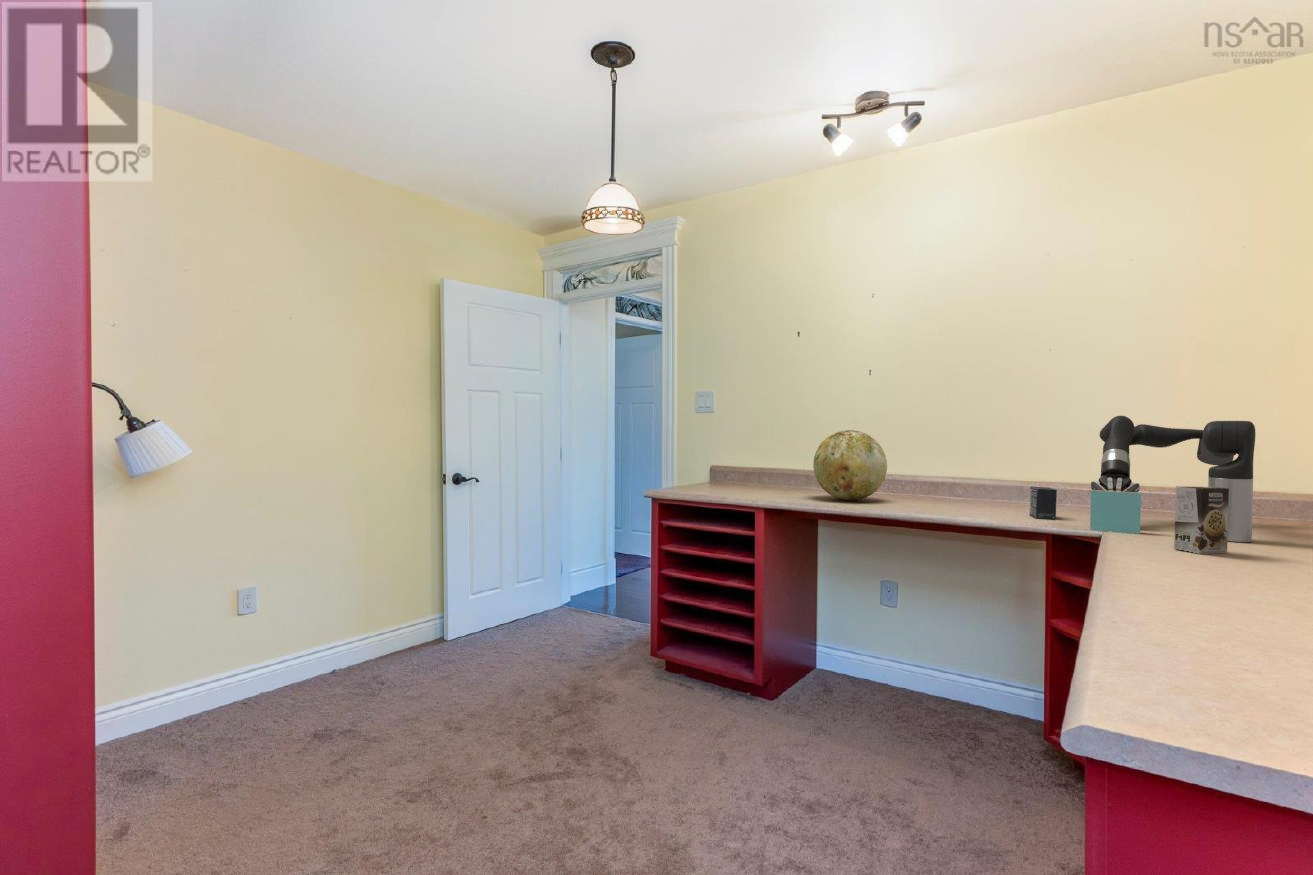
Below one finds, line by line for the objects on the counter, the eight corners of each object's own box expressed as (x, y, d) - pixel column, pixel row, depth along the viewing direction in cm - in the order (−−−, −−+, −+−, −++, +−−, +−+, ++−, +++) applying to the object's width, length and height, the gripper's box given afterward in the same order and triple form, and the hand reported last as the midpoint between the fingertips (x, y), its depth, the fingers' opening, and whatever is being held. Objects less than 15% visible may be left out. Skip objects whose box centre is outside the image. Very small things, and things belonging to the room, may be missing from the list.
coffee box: (1200, 554, 151) (1201, 488, 151) (1172, 549, 157) (1174, 485, 157) (1229, 553, 153) (1230, 487, 153) (1200, 548, 159) (1202, 485, 159)
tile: (1090, 528, 193) (1091, 489, 193) (1139, 532, 185) (1140, 492, 185) (1090, 530, 189) (1090, 490, 189) (1140, 534, 182) (1140, 493, 182)
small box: (1057, 520, 212) (1058, 489, 212) (1035, 519, 214) (1036, 488, 214) (1049, 516, 222) (1050, 487, 221) (1028, 515, 224) (1029, 486, 224)
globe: (800, 500, 265) (801, 429, 264) (831, 495, 287) (832, 430, 287) (869, 506, 245) (870, 430, 245) (897, 500, 267) (898, 431, 267)
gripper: (1141, 475, 199) (1141, 517, 190) (1091, 473, 207) (1088, 513, 198) (1141, 459, 195) (1141, 501, 185) (1090, 457, 203) (1087, 498, 193)
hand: (1114, 507), depth 191 cm, fingers closed
